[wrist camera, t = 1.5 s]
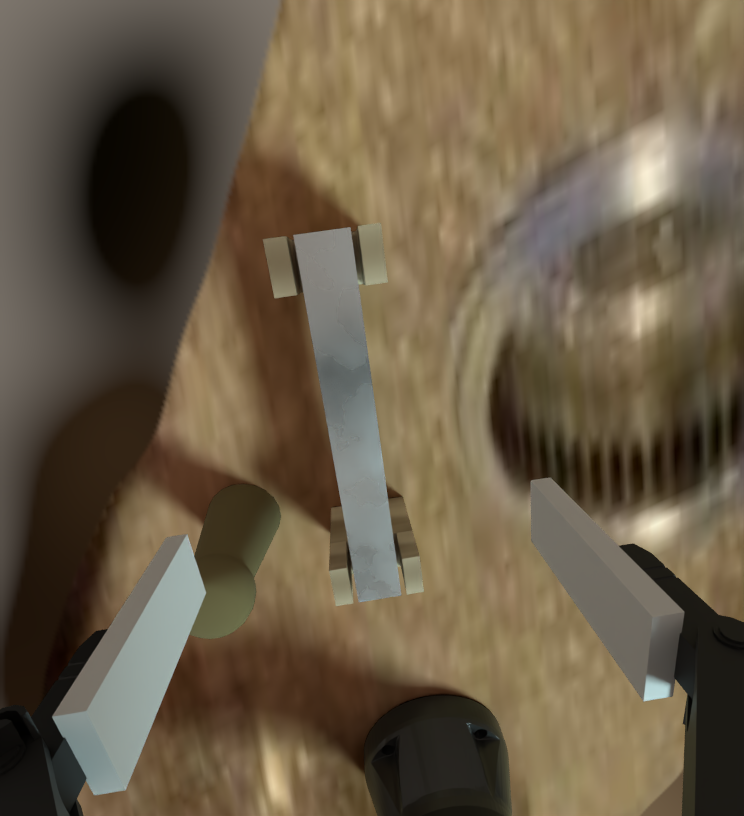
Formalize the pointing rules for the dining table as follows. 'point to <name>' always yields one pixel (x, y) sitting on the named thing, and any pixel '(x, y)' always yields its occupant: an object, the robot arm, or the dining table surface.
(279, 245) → the hook stands
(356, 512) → the steel rail
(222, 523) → the olive round-headed peg
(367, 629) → the dining table surface
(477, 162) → the dining table surface
